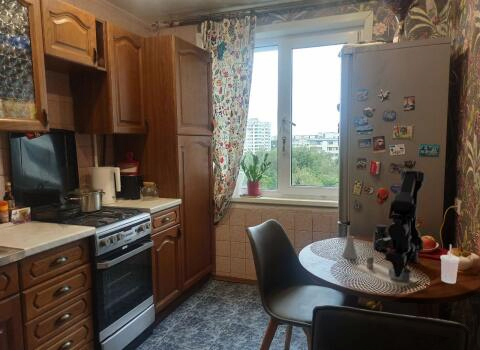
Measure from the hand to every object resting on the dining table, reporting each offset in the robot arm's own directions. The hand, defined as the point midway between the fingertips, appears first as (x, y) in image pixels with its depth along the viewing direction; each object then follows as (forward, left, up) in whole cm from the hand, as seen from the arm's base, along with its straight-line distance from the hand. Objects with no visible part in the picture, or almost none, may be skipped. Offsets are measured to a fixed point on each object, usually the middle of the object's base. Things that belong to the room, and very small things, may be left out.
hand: (399, 273), depth 125 cm
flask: (-4, -26, -3) cm, 27 cm away
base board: (0, -6, -3) cm, 7 cm away
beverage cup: (-16, +10, -3) cm, 19 cm away
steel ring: (0, 0, -1) cm, 1 cm away
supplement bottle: (-26, -26, -3) cm, 37 cm away
